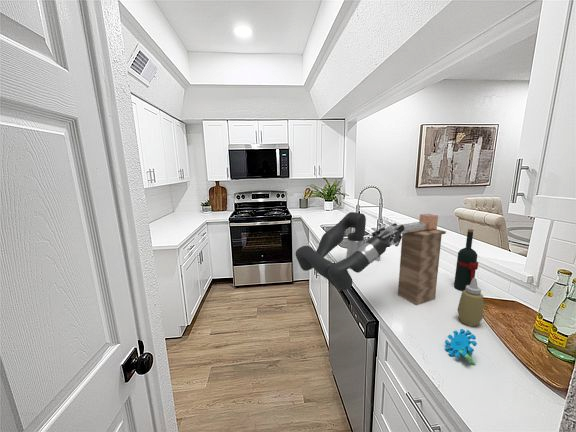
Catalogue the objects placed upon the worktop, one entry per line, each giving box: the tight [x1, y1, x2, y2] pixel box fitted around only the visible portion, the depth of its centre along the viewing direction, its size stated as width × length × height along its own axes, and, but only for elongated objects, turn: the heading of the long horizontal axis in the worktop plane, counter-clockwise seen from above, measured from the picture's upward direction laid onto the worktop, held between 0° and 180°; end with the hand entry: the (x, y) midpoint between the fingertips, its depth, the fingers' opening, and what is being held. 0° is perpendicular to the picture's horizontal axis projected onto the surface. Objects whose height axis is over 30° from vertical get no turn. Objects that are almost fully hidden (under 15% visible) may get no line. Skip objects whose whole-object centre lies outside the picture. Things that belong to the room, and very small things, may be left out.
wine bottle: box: [453, 228, 479, 292], centre depth 119 cm, size 8×10×30 cm
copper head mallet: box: [386, 213, 439, 235], centre depth 107 cm, size 26×5×6 cm, turn 114°
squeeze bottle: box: [456, 277, 484, 327], centre depth 95 cm, size 8×8×18 cm
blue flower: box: [444, 328, 478, 366], centre depth 80 cm, size 11×6×10 cm
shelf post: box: [397, 228, 447, 306], centre depth 113 cm, size 14×12×32 cm
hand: (399, 225), depth 104 cm, fingers closed on copper head mallet, 3 cm apart
